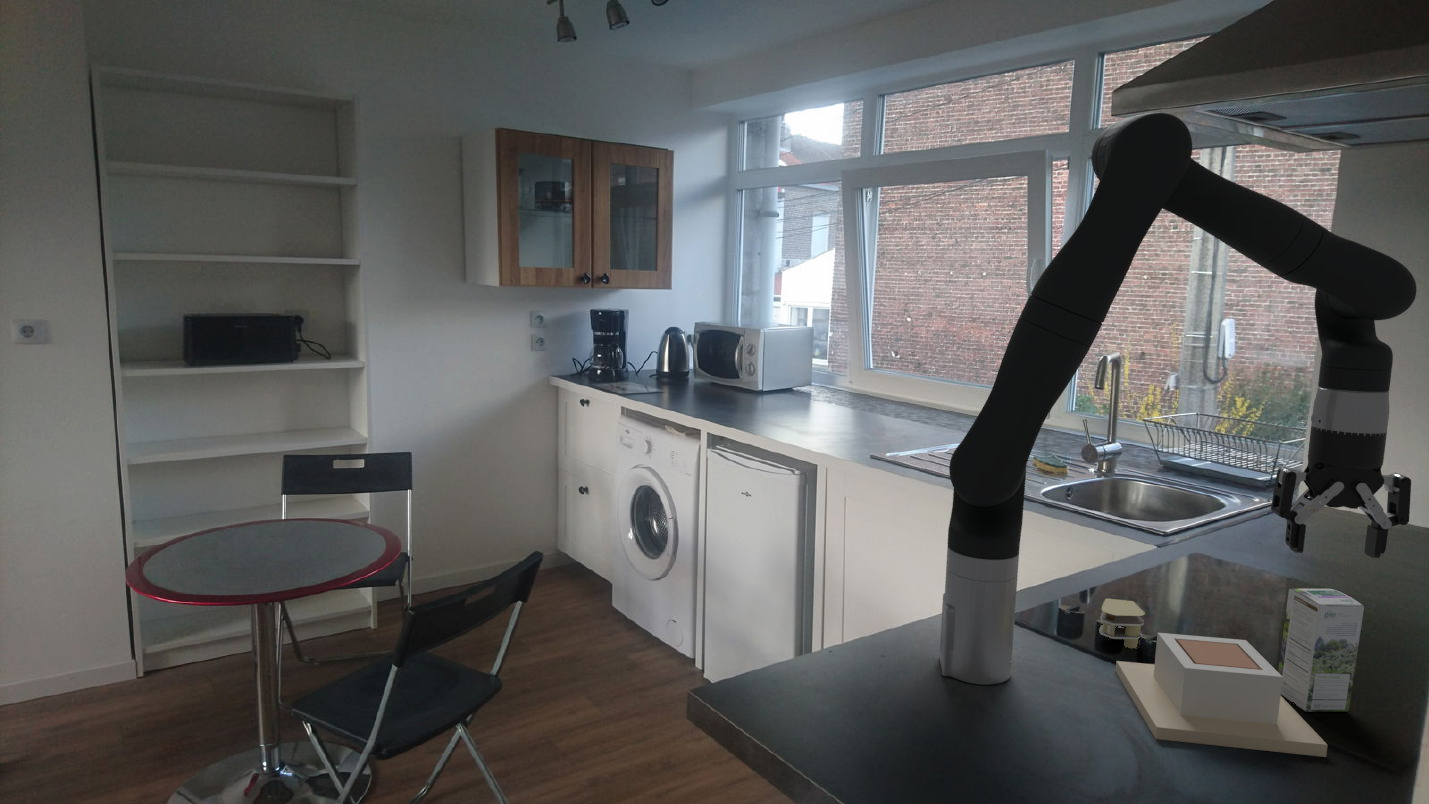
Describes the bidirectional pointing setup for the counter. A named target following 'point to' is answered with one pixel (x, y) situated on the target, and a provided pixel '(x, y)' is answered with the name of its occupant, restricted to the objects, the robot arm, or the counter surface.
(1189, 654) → the plunger seat
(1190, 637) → the sleeve
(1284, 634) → the syrup box
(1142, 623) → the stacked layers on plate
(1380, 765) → the counter surface
